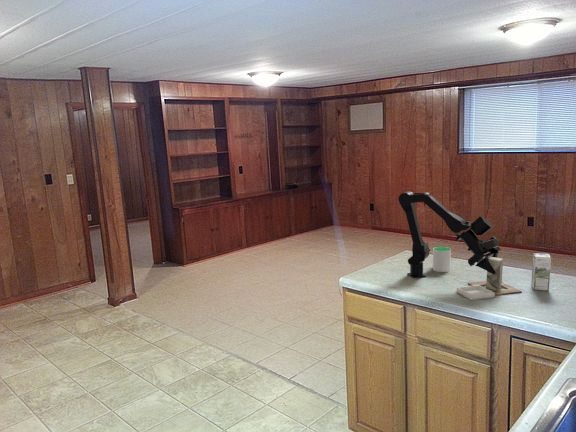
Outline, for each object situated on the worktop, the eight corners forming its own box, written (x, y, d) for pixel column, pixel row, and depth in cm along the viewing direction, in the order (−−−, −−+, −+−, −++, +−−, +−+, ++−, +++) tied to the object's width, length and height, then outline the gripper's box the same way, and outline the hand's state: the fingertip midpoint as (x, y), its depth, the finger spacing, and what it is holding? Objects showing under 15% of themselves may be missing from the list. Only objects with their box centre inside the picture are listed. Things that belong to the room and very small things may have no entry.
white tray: (456, 292, 190) (456, 287, 190) (479, 289, 192) (479, 284, 192) (470, 300, 181) (471, 295, 180) (494, 297, 182) (494, 292, 182)
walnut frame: (467, 284, 200) (467, 282, 200) (496, 281, 203) (496, 279, 202) (490, 296, 185) (490, 294, 184) (521, 292, 187) (521, 291, 187)
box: (485, 288, 194) (486, 258, 192) (489, 285, 197) (490, 256, 195) (498, 290, 190) (499, 260, 188) (502, 288, 193) (503, 258, 191)
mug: (428, 265, 231) (429, 245, 229) (445, 265, 230) (445, 244, 228) (435, 272, 219) (435, 251, 217) (452, 272, 218) (453, 250, 217)
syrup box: (546, 287, 193) (548, 253, 190) (549, 291, 187) (551, 256, 185) (531, 286, 195) (532, 252, 192) (533, 290, 189) (535, 256, 187)
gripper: (475, 234, 187) (502, 266, 180) (497, 227, 199) (522, 256, 192) (457, 250, 194) (481, 281, 187) (478, 242, 206) (502, 271, 199)
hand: (497, 272), depth 191 cm, fingers open, 5 cm apart
